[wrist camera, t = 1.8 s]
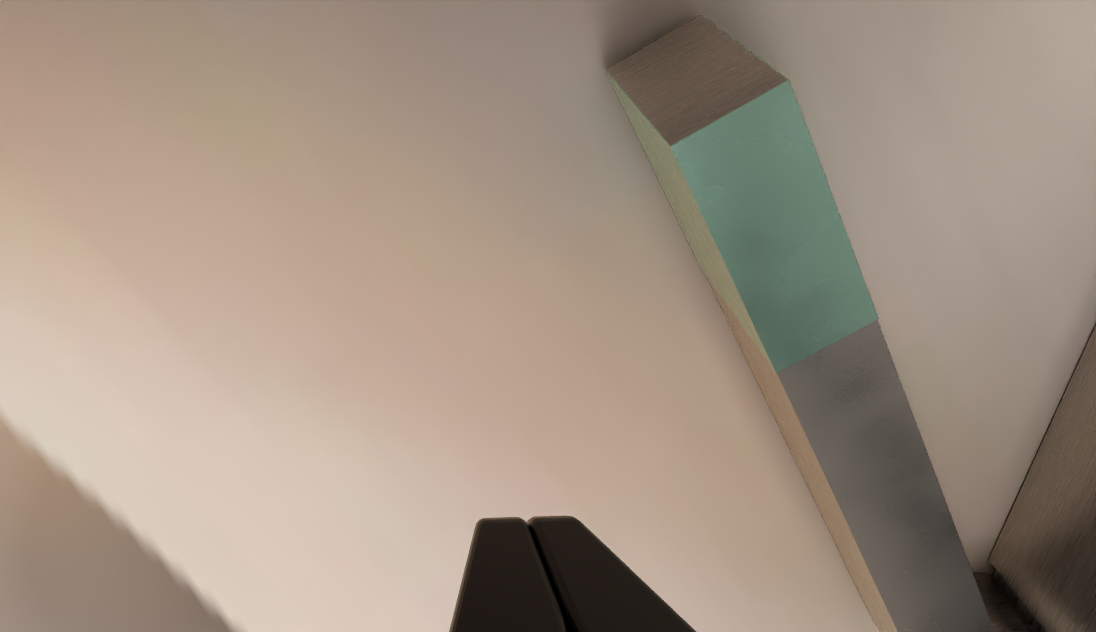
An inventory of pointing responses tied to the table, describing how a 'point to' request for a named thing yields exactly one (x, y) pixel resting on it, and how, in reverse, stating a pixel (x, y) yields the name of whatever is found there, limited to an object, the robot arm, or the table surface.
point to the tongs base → (1052, 525)
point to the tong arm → (800, 315)
